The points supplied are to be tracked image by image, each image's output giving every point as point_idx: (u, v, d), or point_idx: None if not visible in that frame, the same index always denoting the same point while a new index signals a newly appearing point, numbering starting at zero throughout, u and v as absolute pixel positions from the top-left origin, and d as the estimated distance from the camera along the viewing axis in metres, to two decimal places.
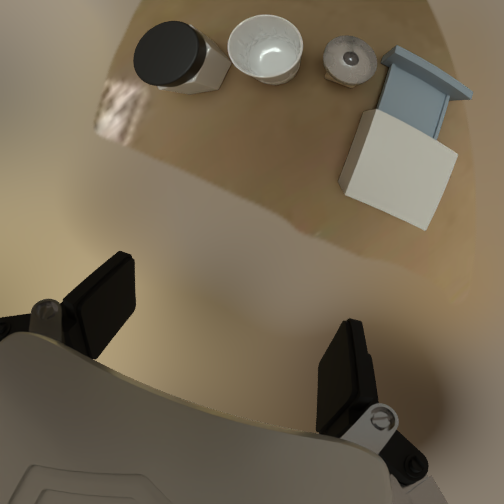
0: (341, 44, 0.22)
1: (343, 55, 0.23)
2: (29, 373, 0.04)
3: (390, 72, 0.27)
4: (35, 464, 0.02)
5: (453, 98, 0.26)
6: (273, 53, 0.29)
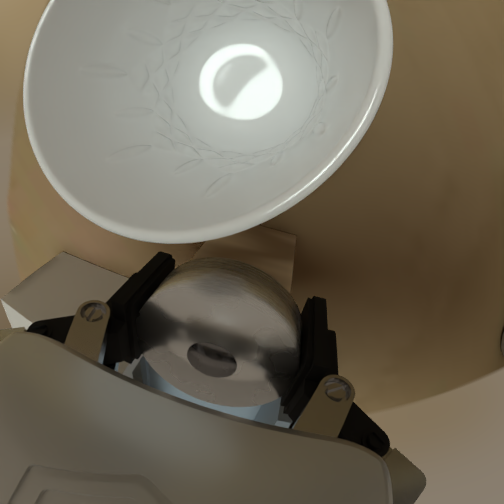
0: (258, 345, 0.08)
1: (215, 345, 0.09)
2: (29, 373, 0.04)
3: None
4: (35, 464, 0.02)
5: None
6: (271, 84, 0.10)
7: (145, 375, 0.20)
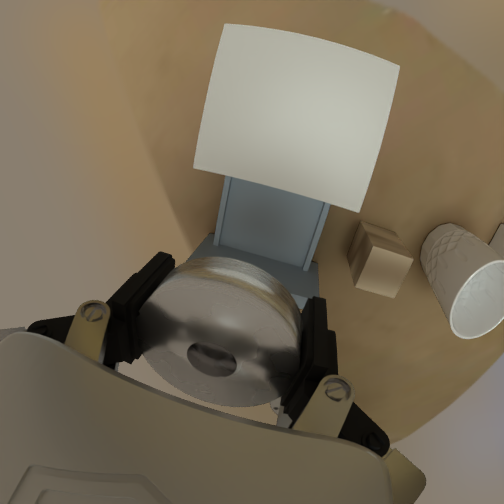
0: (258, 344, 0.08)
1: (215, 344, 0.09)
2: (29, 373, 0.04)
3: (311, 258, 0.26)
4: (35, 464, 0.02)
5: (206, 243, 0.27)
6: None
7: None
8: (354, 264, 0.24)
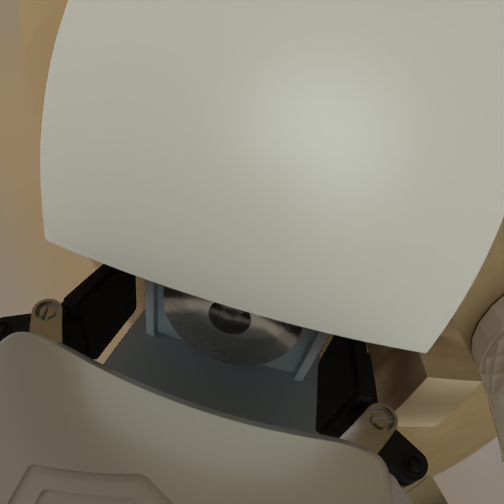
0: None
1: None
2: (29, 373, 0.04)
3: (309, 365, 0.14)
4: (35, 464, 0.02)
5: (137, 330, 0.15)
6: None
7: None
8: (382, 377, 0.12)
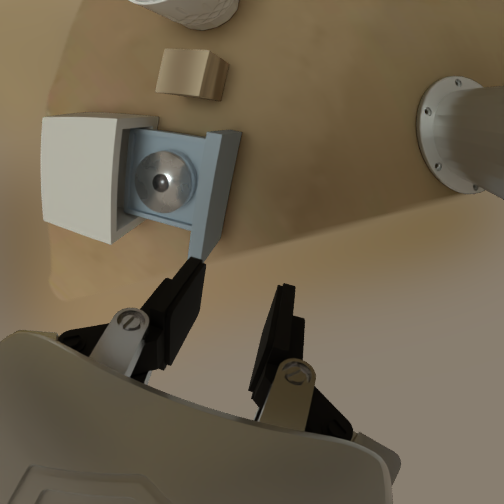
0: (149, 167, 0.24)
1: (152, 181, 0.25)
2: (29, 373, 0.04)
3: (206, 139, 0.24)
4: (35, 464, 0.02)
5: None
6: None
7: (127, 184, 0.27)
8: (200, 97, 0.21)
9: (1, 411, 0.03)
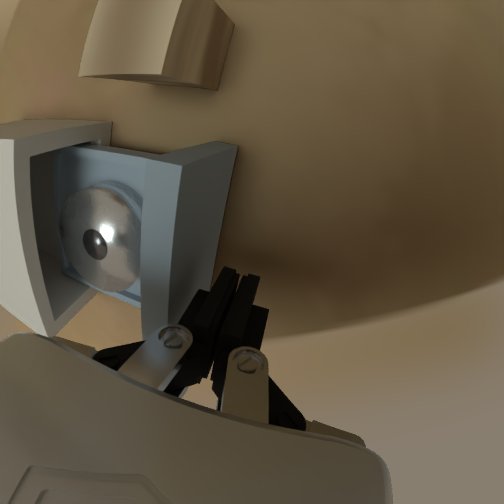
0: (74, 216, 0.13)
1: (83, 240, 0.13)
2: (29, 373, 0.04)
3: None
4: (35, 464, 0.02)
5: None
6: None
7: (59, 233, 0.15)
8: (173, 80, 0.10)
9: (1, 411, 0.03)
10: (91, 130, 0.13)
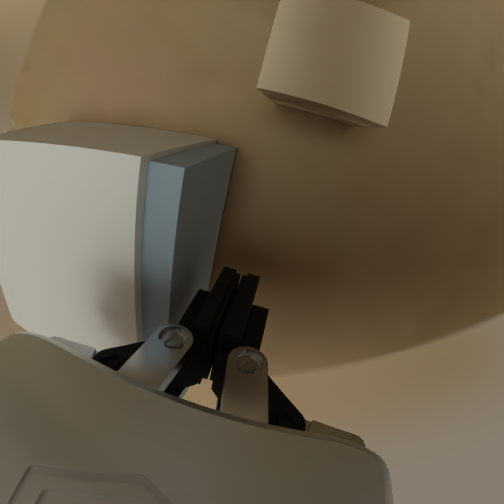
0: None
1: None
2: (29, 373, 0.04)
3: None
4: (35, 464, 0.02)
5: None
6: None
7: None
8: (347, 119, 0.09)
9: (1, 411, 0.03)
10: None
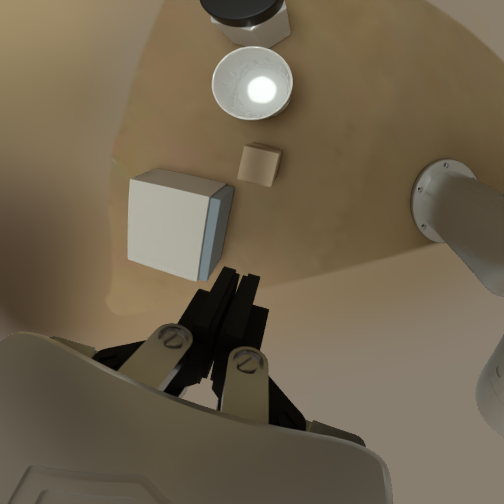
0: None
1: None
2: (29, 373, 0.04)
3: None
4: (35, 464, 0.02)
5: None
6: (272, 91, 0.30)
7: None
8: None
9: (1, 411, 0.03)
10: None
